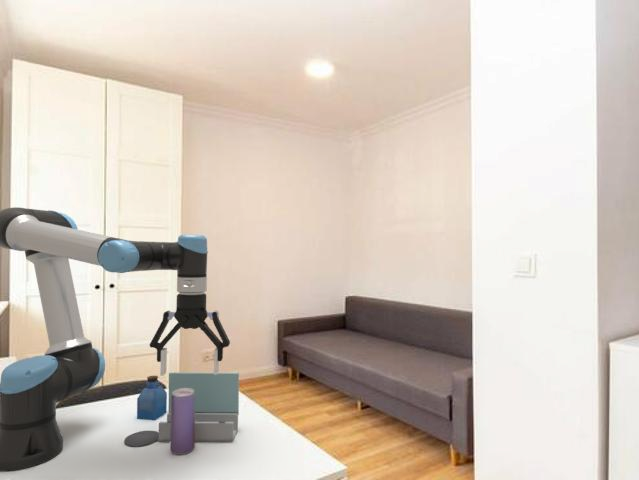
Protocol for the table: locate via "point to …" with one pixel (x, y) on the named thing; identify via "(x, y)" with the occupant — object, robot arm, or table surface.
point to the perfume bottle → (152, 401)
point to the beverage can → (182, 421)
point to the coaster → (141, 438)
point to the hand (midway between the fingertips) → (189, 373)
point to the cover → (208, 390)
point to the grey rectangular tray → (206, 427)
